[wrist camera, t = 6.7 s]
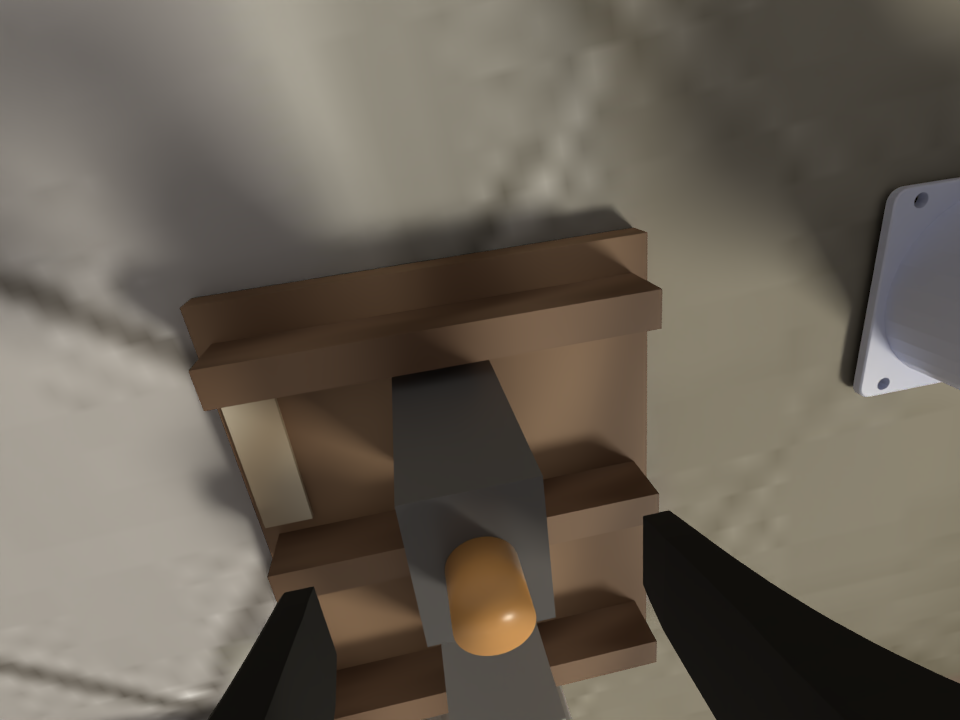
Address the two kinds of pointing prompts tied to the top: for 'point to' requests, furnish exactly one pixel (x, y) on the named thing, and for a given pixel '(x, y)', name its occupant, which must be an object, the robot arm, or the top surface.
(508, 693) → the grey plug
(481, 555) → the charcoal plug
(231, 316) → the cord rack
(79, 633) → the top surface
